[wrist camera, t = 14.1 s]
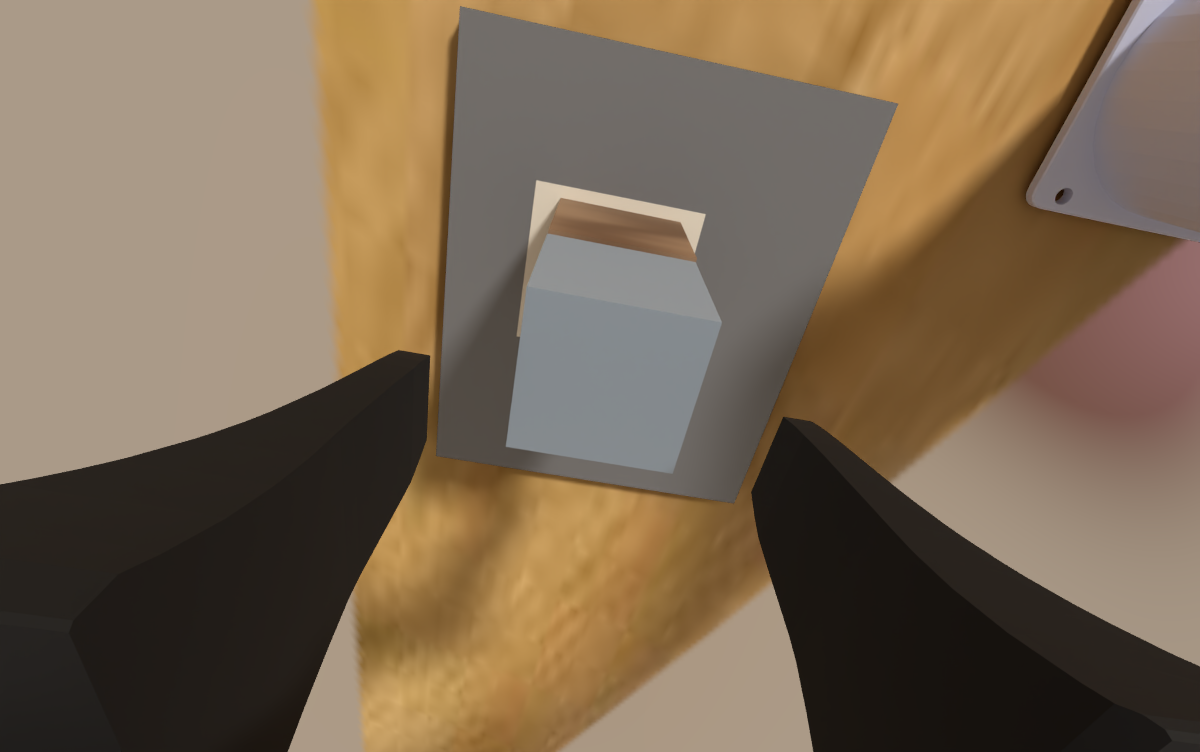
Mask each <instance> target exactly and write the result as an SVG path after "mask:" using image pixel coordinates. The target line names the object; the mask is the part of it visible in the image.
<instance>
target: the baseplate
mask: <svg viewBox="0 0 1200 752" xmlns="http://www.w3.org/2000/svg"><path fill="white" fill-rule="evenodd" d="M897 106H898V104H897V103H893V102H888V101H884V100H879V99H875V98H870V97H866V96H861V95H857V94H852V93H848V92H843V91H839V90H834V89H830V88H825V87H821V86H816V85H812V84H807V83H803V82H798V81H794V80H789V79H785V78H780V77H776V76H771V75H767V74H762V73H758V72H753V71H749V70H744V69H740V68H735V67H731V66H726V65H722V64H717V63H713V62H708V61H704V60H699V59H695V58H690V57H686V56H681V55H677V54H672V53H668V52H663V51H659V50H654V49H650V48H645V47H641V46H637V45H632V44H628V43H623V42H619V41H614V40H610V39H605V38H601V37H596V36H592V35H587V34H583V33H578V32H574V31H569V30H565V29H560V28H556V27H551V26H547V25H542V24H538V23H533V22H529V21H524V20H520V19H515V18H511V17H506V16H502V15H497V14H493V13H488V12H484V11H479V10H475V9H470V8H466V7H461V6H460V18H459V36H458V55H457V74H456V93H455V111H454V130H453V149H452V168H451V187H450V205H449V224H448V243H447V262H446V280H445V299H444V318H443V337H442V356H441V374H440V393H439V412H438V431H437V449H436V456H439V457H446V458H452V459H458V460H464V461H471V462H477V463H483V464H489V465H496V466H502V467H508V468H515V469H521V470H527V471H533V472H540V473H546V474H552V475H559V476H565V477H571V478H577V479H584V480H590V481H596V482H602V483H609V484H615V485H621V486H628V487H634V488H640V489H646V490H653V491H659V492H665V493H671V494H678V495H684V496H690V497H697V498H703V499H709V500H715V501H722V502H728V503H734V502H735V500H736V497H737V495H738V493H739V490H740V488H741V485H742V483H743V480H744V478H745V475H746V473H747V471H748V468H749V466H750V463H751V461H752V458H753V456H754V454H755V451H756V449H757V446H758V444H759V441H760V439H761V437H762V434H763V432H764V429H765V427H766V424H767V422H768V420H769V417H770V415H771V412H772V410H773V407H774V405H775V402H776V400H777V398H778V395H779V393H780V390H781V388H782V385H783V383H784V381H785V378H786V376H787V373H788V371H789V368H790V366H791V364H792V361H793V359H794V356H795V354H796V351H797V349H798V346H799V344H800V342H801V339H802V337H803V334H804V332H805V329H806V327H807V325H808V322H809V320H810V317H811V315H812V312H813V310H814V308H815V305H816V303H817V300H818V298H819V295H820V293H821V291H822V288H823V286H824V283H825V281H826V278H827V276H828V273H829V271H830V269H831V266H832V264H833V261H834V259H835V256H836V254H837V252H838V249H839V247H840V244H841V242H842V239H843V237H844V235H845V232H846V230H847V227H848V225H849V222H850V220H851V217H852V215H853V213H854V210H855V208H856V205H857V203H858V200H859V198H860V196H861V193H862V191H863V188H864V186H865V183H866V181H867V179H868V176H869V174H870V171H871V169H872V166H873V164H874V162H875V159H876V157H877V154H878V152H879V149H880V147H881V144H882V142H883V140H884V137H885V135H886V132H887V130H888V127H889V125H890V123H891V120H892V118H893V115H894V113H895V110H896V108H897ZM561 198H565V199H570V200H574V201H579V202H584V203H589V204H594V205H599V206H604V207H609V208H614V209H618V210H623V211H628V212H633V213H638V214H643V215H648V216H653V217H658V218H662V219H667V220H672V221H677V222H681V224H682V227H683V229H684V231H685V233H686V235H687V238H688V240H689V242H690V244H691V246H692V249H693V251H694V253H695V255H696V257H697V261H696V264H697V267H698V269H699V271H700V273H701V276H702V278H703V280H704V283H705V285H706V287H707V289H708V292H709V294H710V296H711V299H712V301H713V303H714V305H715V308H716V310H717V312H718V314H719V317H720V319H721V321H722V324H721V327H720V330H719V333H718V337H717V340H716V343H715V346H714V349H713V352H712V355H711V358H710V361H709V364H708V367H707V370H706V373H705V376H704V379H703V382H702V385H701V389H700V392H699V395H698V398H697V401H696V404H695V407H694V410H693V413H692V416H691V419H690V422H689V425H688V428H687V431H686V434H685V438H684V441H683V444H682V447H681V450H680V453H679V456H678V459H677V462H676V465H675V468H674V471H673V474H670V473H664V472H658V471H652V470H646V469H640V468H634V467H627V466H621V465H615V464H609V463H603V462H597V461H590V460H584V459H578V458H572V457H566V456H560V455H554V454H547V453H541V452H535V451H529V450H523V449H517V448H510V447H506V441H507V434H508V426H509V418H510V411H511V403H512V395H513V388H514V380H515V373H516V365H517V357H518V350H519V342H520V334H521V327H522V319H523V311H524V304H525V296H526V288H527V284H528V282H529V279H530V277H531V274H532V272H533V269H534V266H535V264H536V261H537V259H538V256H539V254H540V251H541V248H542V246H543V243H544V241H545V238H546V236H547V233H548V230H549V227H550V224H551V222H552V219H553V217H554V214H555V212H556V209H557V206H558V204H559V201H560V199H561Z"/></svg>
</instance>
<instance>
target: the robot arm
mask: <svg viewBox="0 0 1200 752" xmlns="http://www.w3.org/2000/svg"><path fill="white" fill-rule="evenodd" d="M1062 189H1064V193H1063V196H1062V197H1061V198H1060V199H1059V200H1057V201H1056V202H1055V197H1056V195H1057V193H1058V192H1059V191H1060V190H1062ZM1026 201H1027V202H1028V204H1029V205H1031V206H1033V207H1036V208H1039V209H1044V210H1049V211H1053V212H1058V213H1063V214H1067V215H1072V216H1077V217H1082V218H1086V219H1091V220H1096V221H1101V222H1105V223H1110V224H1115V225H1120V226H1124V227H1129V228H1134V229H1138V230H1143V231H1148V232H1153V233H1157V234H1162V235H1167V236H1172V237H1176V238H1181V239H1186V240H1191V241H1196V242H1200V0H1132V1H1131V3H1130V5H1129V7H1128V9H1127V11H1126V12H1125V14H1124V16H1123V18H1122V20H1121V21H1120V23H1119V25H1118V27H1117V29H1116V30H1115V32H1114V34H1113V36H1112V38H1111V39H1110V41H1109V43H1108V45H1107V47H1106V48H1105V50H1104V52H1103V54H1102V56H1101V58H1100V59H1099V61H1098V63H1097V65H1096V67H1095V68H1094V70H1093V72H1092V74H1091V76H1090V77H1089V79H1088V81H1087V83H1086V85H1085V86H1084V88H1083V90H1082V92H1081V94H1080V95H1079V97H1078V99H1077V101H1076V103H1075V105H1074V106H1073V108H1072V110H1071V112H1070V114H1069V115H1068V117H1067V119H1066V121H1065V123H1064V124H1063V126H1062V128H1061V130H1060V132H1059V133H1058V135H1057V137H1056V139H1055V141H1054V142H1053V144H1052V146H1051V148H1050V150H1049V151H1048V153H1047V155H1046V157H1045V159H1044V161H1043V162H1042V164H1041V166H1040V168H1039V170H1038V171H1037V173H1036V175H1035V177H1034V179H1033V180H1032V182H1031V184H1030V186H1029V188H1028V190H1027V193H1026ZM429 369H430V356H429V355H424V354H418V353H412V352H406V351H401V350H398V351H396V352H393V353H391V354H389V355H387V356H385V357H383V358H381V359H379V360H377V361H375V362H373V363H371V364H369V365H367V366H365V367H363V368H362V369H360V370H358V371H356V372H354V373H352V374H350V375H348V376H346V377H344V378H342V379H340V380H338V381H336V382H334V383H332V384H330V385H328V386H326V387H324V388H322V389H320V390H318V391H316V392H314V393H311V394H309V395H307V396H304V397H302V398H300V399H298V400H296V401H293V402H291V403H289V404H287V405H285V406H282V407H280V408H278V409H275V410H273V411H271V412H269V413H266V414H263V415H261V416H259V417H256V418H253V419H251V420H248V421H246V422H243V423H240V424H237V425H234V426H231V427H228V428H226V429H223V430H220V431H217V432H215V433H211V434H209V435H205V436H202V437H199V438H196V439H192V440H189V441H185V442H182V443H178V444H175V445H171V446H167V447H164V448H160V449H157V450H153V451H150V452H146V453H143V454H139V455H135V456H132V457H128V458H124V459H120V460H116V461H112V462H108V463H104V464H99V465H94V466H90V467H86V468H82V469H77V470H73V471H67V472H62V473H58V474H53V475H48V476H43V477H38V478H33V479H28V480H22V481H17V482H12V483H6V484H1V485H0V752H288V749H289V747H290V744H291V741H292V739H293V736H294V734H295V731H296V728H297V726H298V723H299V720H300V718H301V715H302V712H303V710H304V707H305V705H306V702H307V699H308V697H309V694H310V692H311V689H312V687H313V684H314V682H315V679H316V677H317V674H318V672H319V669H320V667H321V664H322V662H323V659H324V657H325V654H326V652H327V649H328V647H329V644H330V642H331V640H332V637H333V635H334V632H335V630H336V628H337V625H338V623H339V621H340V618H341V616H342V613H343V611H344V609H345V606H346V604H347V601H348V599H349V597H350V595H351V593H352V591H353V589H354V587H355V585H356V583H357V581H358V579H359V577H360V575H361V573H362V571H363V569H364V567H365V566H366V564H367V562H368V560H369V558H370V556H371V555H372V553H373V551H374V549H375V547H376V545H377V544H378V542H379V540H380V538H381V536H382V534H383V533H384V531H385V529H386V527H387V525H388V523H389V522H390V520H391V518H392V516H393V514H394V512H395V511H396V509H397V507H398V505H399V503H400V501H401V499H402V498H403V496H404V494H405V492H406V490H407V488H408V486H409V484H410V482H411V480H412V477H413V475H414V472H415V470H416V467H417V465H418V462H419V459H420V457H421V454H422V451H423V448H424V446H425V443H426V440H427V417H428V393H429ZM751 494H752V501H753V508H754V516H755V521H756V527H757V533H758V537H759V541H760V544H761V548H762V551H763V554H764V557H765V561H766V564H767V567H768V570H769V574H770V577H771V580H772V583H773V586H774V589H775V592H776V596H777V599H778V602H779V605H780V608H781V611H782V614H783V618H784V621H785V624H786V627H787V630H788V633H789V637H790V640H791V644H792V648H793V651H794V655H795V659H796V663H797V668H798V673H799V678H800V682H801V688H802V693H803V697H804V702H805V707H806V712H807V718H808V723H809V729H810V735H811V741H812V746H813V752H1200V667H1199V666H1198V665H1195V664H1193V663H1191V662H1188V661H1186V660H1184V659H1182V658H1179V657H1177V656H1175V655H1173V654H1171V653H1168V652H1167V651H1165V650H1162V649H1160V648H1158V647H1156V646H1154V645H1152V644H1150V643H1148V642H1146V641H1144V640H1142V639H1140V638H1138V637H1136V636H1134V635H1132V634H1130V633H1128V632H1126V631H1124V630H1122V629H1120V628H1118V627H1116V626H1114V625H1112V624H1110V623H1108V622H1106V621H1104V620H1102V619H1100V618H1099V617H1097V616H1095V615H1093V614H1091V613H1089V612H1087V611H1085V610H1083V609H1082V608H1080V607H1077V606H1076V605H1074V604H1072V603H1070V602H1069V601H1067V600H1065V599H1063V598H1062V597H1060V596H1058V595H1056V594H1055V593H1053V592H1051V591H1049V590H1048V589H1046V588H1044V587H1042V586H1041V585H1039V584H1037V583H1035V582H1033V581H1032V580H1030V579H1028V578H1027V577H1025V576H1023V575H1022V574H1020V573H1018V572H1017V571H1015V570H1013V569H1012V568H1010V567H1008V566H1007V565H1005V564H1004V563H1002V562H1000V561H999V560H997V559H996V558H994V557H993V556H991V555H990V554H988V553H987V552H985V551H984V550H982V549H980V548H979V547H977V546H976V545H974V544H973V543H971V542H970V541H968V540H967V539H965V538H964V537H962V536H961V535H959V534H958V533H956V532H955V531H953V530H952V529H950V528H949V527H948V526H946V525H945V524H943V523H942V522H941V521H940V520H938V519H937V518H935V517H934V516H933V515H931V514H930V513H929V512H927V511H926V510H925V509H923V508H922V507H921V506H919V505H918V504H917V503H915V502H914V501H913V500H911V499H910V498H909V497H907V496H906V495H905V494H904V493H902V492H901V491H900V490H898V489H897V488H896V487H895V486H894V485H892V484H891V483H890V482H889V481H887V480H886V479H885V478H884V477H882V476H881V475H880V474H879V473H877V472H876V471H875V470H874V469H873V468H871V467H870V466H869V465H868V464H866V463H865V462H864V461H863V460H862V459H860V458H859V457H858V456H857V455H855V454H854V453H853V452H852V451H851V450H849V449H848V448H847V447H846V446H844V445H843V444H842V443H841V442H839V441H838V440H837V439H836V438H834V437H833V436H832V435H830V434H829V433H828V432H826V431H825V430H824V429H822V428H821V427H819V426H818V425H816V424H815V423H813V422H811V421H805V420H799V419H793V418H788V417H783V419H782V421H781V424H780V426H779V428H778V431H777V433H776V435H775V438H774V440H773V442H772V445H771V447H770V449H769V452H768V454H767V457H766V459H765V461H764V464H763V466H762V468H761V471H760V473H759V475H758V478H757V480H756V482H755V485H754V487H753V489H752V492H751Z"/></svg>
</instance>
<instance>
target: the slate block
mask: <svg viewBox="0 0 1200 752" xmlns="http://www.w3.org/2000/svg"><path fill="white" fill-rule="evenodd" d="M721 324H722V321H721V319H720V317H719V314H718V312H717V310H716V308H715V305H714V303H713V301H712V299H711V296H710V294H709V292H708V289H707V287H706V285H705V283H704V280H703V278H702V276H701V273H700V271H699V269H698V267H697V264H696V262H692V261H687V260H682V259H677V258H672V257H667V256H661V255H656V254H651V253H646V252H641V251H636V250H630V249H625V248H620V247H615V246H610V245H605V244H599V243H594V242H589V241H584V240H579V239H574V238H568V237H563V236H558V235H553V234H548V233H547V236H546V238H545V241H544V243H543V246H542V248H541V251H540V254H539V256H538V259H537V261H536V264H535V266H534V269H533V272H532V274H531V277H530V279H529V282H528V284H527V288H526V296H525V304H524V311H523V319H522V327H521V334H520V342H519V350H518V357H517V365H516V373H515V380H514V388H513V395H512V403H511V411H510V418H509V426H508V434H507V441H506V447H510V448H517V449H523V450H529V451H535V452H541V453H547V454H554V455H560V456H566V457H572V458H578V459H584V460H590V461H597V462H603V463H609V464H615V465H621V466H627V467H634V468H640V469H646V470H652V471H658V472H664V473H670V474H673V471H674V468H675V465H676V462H677V459H678V456H679V453H680V450H681V447H682V444H683V441H684V438H685V434H686V431H687V428H688V425H689V422H690V419H691V416H692V413H693V410H694V407H695V404H696V401H697V398H698V395H699V392H700V389H701V385H702V382H703V379H704V376H705V373H706V370H707V367H708V364H709V361H710V358H711V355H712V352H713V349H714V346H715V343H716V340H717V337H718V333H719V330H720V327H721Z"/></svg>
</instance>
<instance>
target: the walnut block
mask: <svg viewBox="0 0 1200 752" xmlns="http://www.w3.org/2000/svg"><path fill="white" fill-rule="evenodd" d="M548 234H553V235H558V236H563V237H568V238H574V239H579V240H584V241H589V242H594V243H599V244H605V245H610V246H615V247H620V248H625V249H630V250H636V251H641V252H646V253H651V254H656V255H661V256H667V257H672V258H677V259H682V260H687V261H692V262H696V261H697V257H696V255H695V253H694V251H693V249H692V246H691V244H690V242H689V240H688V238H687V235H686V233H685V231H684V229H683V227H682V224H681V222H677V221H672V220H667V219H662V218H658V217H653V216H648V215H643V214H638V213H633V212H628V211H623V210H618V209H614V208H609V207H604V206H599V205H594V204H589V203H584V202H579V201H574V200H570V199H565V198H561V199H560V201H559V204H558V206H557V209H556V212H555V214H554V217H553V219H552V222H551V224H550V227H549V230H548Z"/></svg>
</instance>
